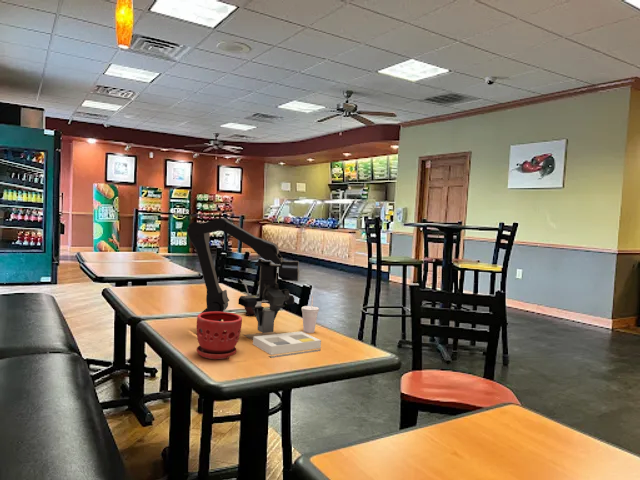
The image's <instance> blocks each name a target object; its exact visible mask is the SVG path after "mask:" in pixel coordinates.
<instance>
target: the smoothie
mask: <svg viewBox="0 0 640 480" xmlns="http://www.w3.org/2000/svg"><path fill="white" fill-rule="evenodd" d="M313 305H314V295H311V303H310V305H304V306H302V307H301V313H302V326H303V327H302V328H303V330H302V332H304V333H306V334H313V333H315V330H316V325H317V319H318V314H319V311H320V308H319V307H318V306H313Z"/></svg>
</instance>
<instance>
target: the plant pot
mask: <svg viewBox="0 0 640 480" xmlns="http://www.w3.org/2000/svg"><path fill="white" fill-rule="evenodd" d="M220 319H222V321H218V320H220ZM213 320H215V321H213ZM242 325H243V317H242V316H241V315H239V314H236V313H232V312H227V311H224V312H204V313H201V312H200V313H199V314H198V315H197V317H196V337H197V342H198V344H199V345H198V346H197V347H196V352H197V354H198V355H200V357H203V358H206V359H210V360H223V359H229V358H230V357H232V356H234V355H235V354H236V353H237V347H236V346H237V344H238V342H239V339H240V336H241V331H242ZM201 329H202V331H203V332H202V333H201Z"/></svg>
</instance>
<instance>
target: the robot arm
mask: <svg viewBox="0 0 640 480" xmlns="http://www.w3.org/2000/svg"><path fill="white" fill-rule="evenodd" d="M218 231H222V232H224V233H225V234H227V235H229V236H231V237H232V238H233V239H237V240H238V241H239V242H241V243H243V244H245V245H247V246H248V247H250V248H251V249H252V250H253V251H254V252H255V253H256V254H257V255H258V256H259V257H261V258H259V259H258V261H256V262H255V263H254V266H256V267H259V269H260V270H259V281H257V285H259V286H258V293H256V295H257V297H259V298H255V297H253V296H250V295H251V294H249V296H247V295H240V296H239V298H238V302H237V303H238V305H240V306H242V307H252V309H253V311H254V313H255V316H254V317H255V318H256V322H257V325H258V324H259V326H261V324H262V310H263V309H265V308H264V306H263V304H264V303H265V304H266V303H269V309H270V310H272V311H275V313H274V321H275V320H276V317H277V315H278V313H279V311H280V310H281V309H282V308H284V307H285V306H286V305H294V304H295V297H294V296H293V295H292V294H290V290H289V289H287V288H286V289H280V288H279V283H277V281H278V279H277V278H280V279H281V281H286V282H299V279H300V278H299V277H300V269H299V268H300V267H299V266H300V265H299V264H300V262H299V260H293V261H290V260H288V261H287V260H284V258H283V256H282V255H281V254H280V249H279V248H280V247H279V246H278V245H277V243H275V242H273V241H269V240H267V239H264V238H261V237H258V236H256V235H254V234H252V233H250V232H249V231H247V230H245V229H243V228H242V227H240V226H239V225H237V224H235V223H233V222H232V221H230V220H228V218H226V217H218V218H217V219H212V220H208V221H205V222H203V221H192V222H190V224H188V226H187V228H186V233H187V237H188V238H189V241H190V242H191V243H192V246H193V247H194V249H195V250H196V253H197V258H198V261H199V266H200V269H201V272H202V273H201V274H202V277H203V280H204V285H205V288H206V299H205V301H206V308H204V310H202V312H200V313H204V312H226V310H227V309H228V307H229V302H230V299H229V297H228V291H227V289H224V290H223V289H222V288H221V286H220V284H219V280H218V277H217V272H216V268H215V264H214V260H213V257H212V253H211V249H210V234H211V233H215V232H218ZM284 303H285V304H286V305H285V304H284ZM213 321H215V320H213ZM218 321H223V320H222V319H220V320H218ZM202 332H203V331H202V329H201V333H202Z"/></svg>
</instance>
